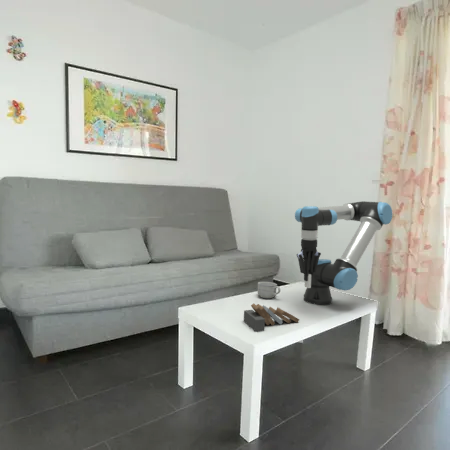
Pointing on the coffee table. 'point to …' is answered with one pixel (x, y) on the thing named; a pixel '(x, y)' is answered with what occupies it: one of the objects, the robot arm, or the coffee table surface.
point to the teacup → (267, 289)
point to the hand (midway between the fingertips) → (307, 287)
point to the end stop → (254, 320)
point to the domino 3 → (272, 315)
